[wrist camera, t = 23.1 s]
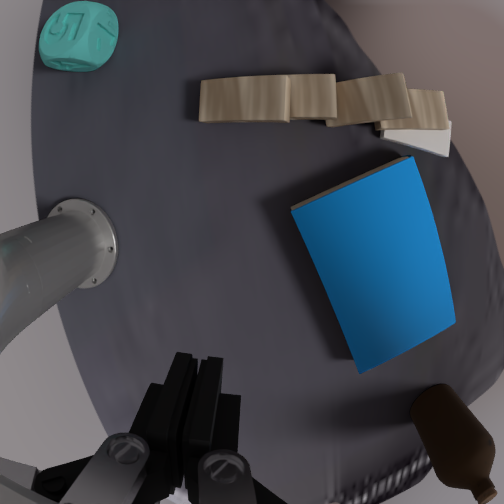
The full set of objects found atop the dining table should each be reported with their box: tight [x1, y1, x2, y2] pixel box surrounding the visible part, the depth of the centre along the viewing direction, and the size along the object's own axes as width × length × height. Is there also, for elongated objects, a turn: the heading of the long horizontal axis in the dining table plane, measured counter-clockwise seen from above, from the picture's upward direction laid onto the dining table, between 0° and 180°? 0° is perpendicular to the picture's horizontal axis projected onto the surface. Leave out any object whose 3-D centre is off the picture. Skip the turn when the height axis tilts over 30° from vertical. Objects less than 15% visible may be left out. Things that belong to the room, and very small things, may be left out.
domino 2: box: [287, 74, 337, 120], centre depth 32 cm, size 2×5×10 cm
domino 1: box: [199, 75, 291, 123], centre depth 32 cm, size 2×5×10 cm
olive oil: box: [410, 384, 497, 504], centre depth 35 cm, size 11×11×25 cm
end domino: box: [380, 121, 451, 157], centre depth 35 cm, size 2×5×10 cm
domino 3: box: [326, 73, 413, 127], centre depth 31 cm, size 2×5×10 cm
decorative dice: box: [39, 1, 118, 72], centre depth 28 cm, size 8×8×8 cm
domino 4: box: [374, 89, 449, 130], centre depth 32 cm, size 2×5×10 cm
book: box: [290, 155, 456, 374], centre depth 38 cm, size 17×4×25 cm
